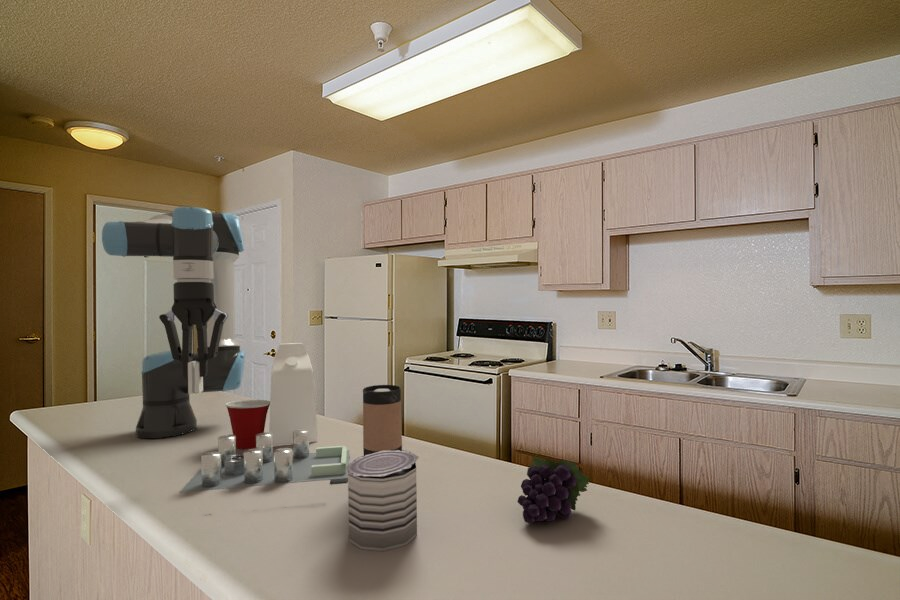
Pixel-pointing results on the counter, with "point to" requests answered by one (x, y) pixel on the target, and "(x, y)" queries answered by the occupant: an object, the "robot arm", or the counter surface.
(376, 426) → the travel mug
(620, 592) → the counter surface
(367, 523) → the can
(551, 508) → the fruit
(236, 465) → the nut
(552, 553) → the counter surface
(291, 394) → the milk
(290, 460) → the spacers
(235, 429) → the plastic cup
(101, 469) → the counter surface
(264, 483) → the board
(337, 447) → the parts pocket
